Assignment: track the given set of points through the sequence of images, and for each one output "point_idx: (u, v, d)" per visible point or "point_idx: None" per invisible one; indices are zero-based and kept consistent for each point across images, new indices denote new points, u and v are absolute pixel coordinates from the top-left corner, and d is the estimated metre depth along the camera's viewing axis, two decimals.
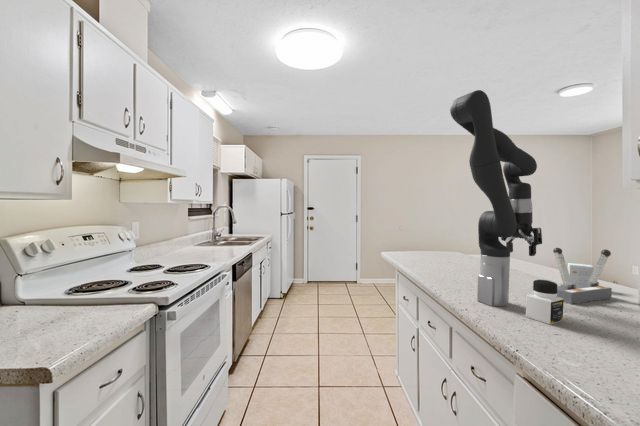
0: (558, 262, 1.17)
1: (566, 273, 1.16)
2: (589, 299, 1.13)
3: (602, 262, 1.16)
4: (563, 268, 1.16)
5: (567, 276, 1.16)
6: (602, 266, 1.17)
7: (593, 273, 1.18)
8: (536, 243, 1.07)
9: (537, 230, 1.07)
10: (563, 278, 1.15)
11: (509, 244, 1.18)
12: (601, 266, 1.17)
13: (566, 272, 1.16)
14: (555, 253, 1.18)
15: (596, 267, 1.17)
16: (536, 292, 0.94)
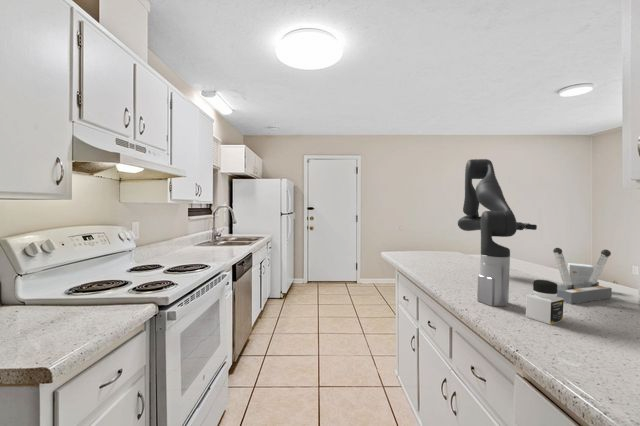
0: (558, 262, 1.17)
1: (566, 273, 1.16)
2: (589, 299, 1.13)
3: (602, 262, 1.16)
4: (563, 268, 1.16)
5: (567, 276, 1.16)
6: (602, 266, 1.17)
7: (593, 273, 1.18)
8: None
9: None
10: (563, 278, 1.15)
11: None
12: (601, 266, 1.17)
13: (566, 272, 1.16)
14: (555, 253, 1.18)
15: (596, 267, 1.17)
16: (536, 292, 0.94)
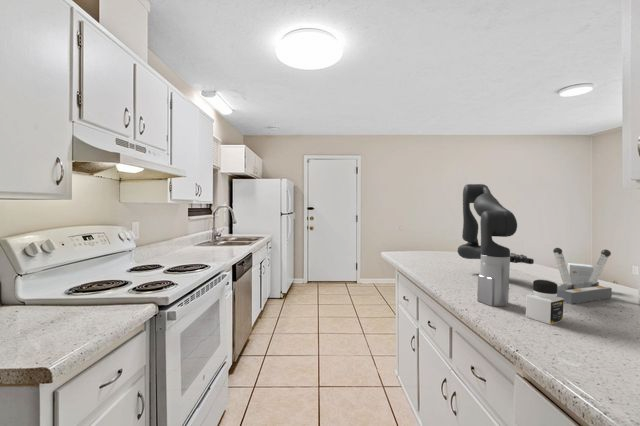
0: (558, 262, 1.17)
1: (566, 273, 1.16)
2: (589, 299, 1.13)
3: (602, 262, 1.16)
4: (563, 268, 1.16)
5: (567, 276, 1.16)
6: (602, 266, 1.17)
7: (593, 273, 1.18)
8: (525, 256, 1.33)
9: None
10: (563, 278, 1.15)
11: None
12: (601, 266, 1.17)
13: (566, 272, 1.16)
14: (555, 253, 1.18)
15: (596, 267, 1.17)
16: (536, 292, 0.94)
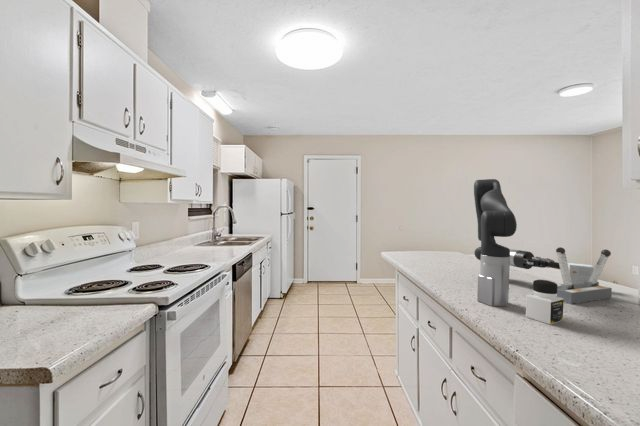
0: (560, 262, 1.16)
1: (567, 273, 1.15)
2: (589, 299, 1.13)
3: (602, 262, 1.16)
4: (565, 268, 1.16)
5: (568, 276, 1.15)
6: (602, 266, 1.17)
7: (593, 273, 1.18)
8: (553, 260, 1.23)
9: None
10: (564, 278, 1.15)
11: None
12: (601, 266, 1.17)
13: (567, 272, 1.16)
14: (558, 253, 1.17)
15: (596, 267, 1.17)
16: (536, 292, 0.94)
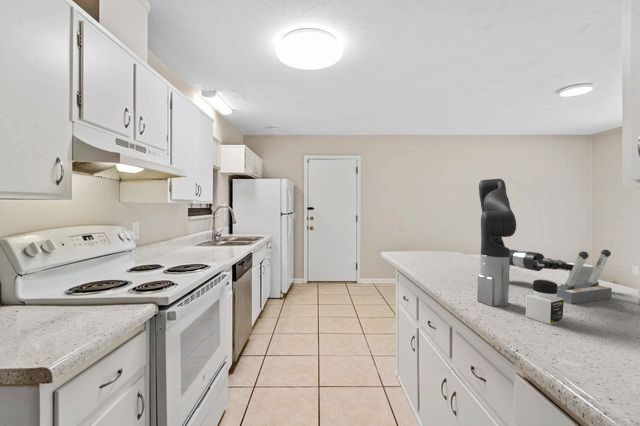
0: (575, 265, 1.11)
1: (575, 276, 1.13)
2: (589, 299, 1.13)
3: (602, 262, 1.16)
4: (576, 272, 1.12)
5: (574, 279, 1.13)
6: (602, 266, 1.17)
7: (593, 273, 1.18)
8: (564, 262, 1.19)
9: None
10: (569, 279, 1.13)
11: None
12: (601, 266, 1.17)
13: (576, 275, 1.13)
14: (579, 257, 1.10)
15: (596, 267, 1.17)
16: (536, 292, 0.94)
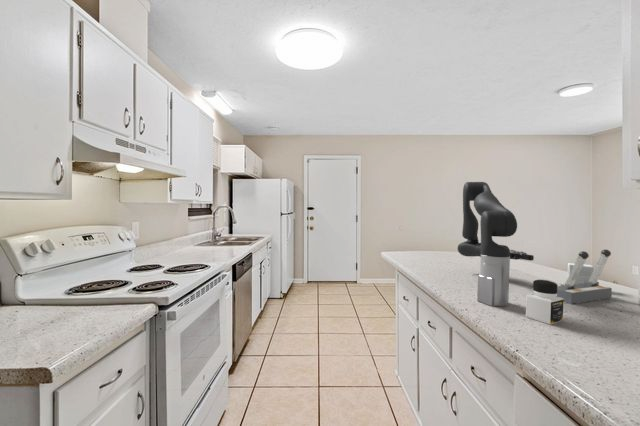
0: (576, 265, 1.11)
1: (575, 276, 1.13)
2: (589, 299, 1.13)
3: (602, 262, 1.16)
4: (576, 272, 1.12)
5: (574, 279, 1.13)
6: (602, 266, 1.17)
7: (593, 273, 1.18)
8: (525, 253, 1.33)
9: None
10: (569, 279, 1.13)
11: None
12: (601, 266, 1.17)
13: (576, 275, 1.13)
14: (579, 257, 1.10)
15: (596, 267, 1.17)
16: (536, 292, 0.94)
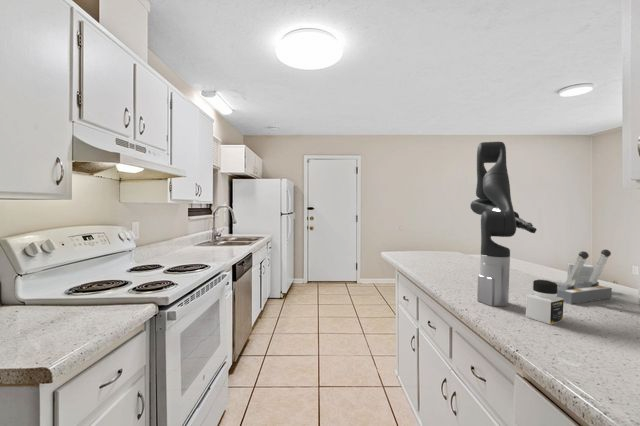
0: (576, 265, 1.11)
1: (575, 276, 1.13)
2: (589, 299, 1.13)
3: (602, 262, 1.16)
4: (576, 272, 1.12)
5: (574, 279, 1.13)
6: (602, 266, 1.17)
7: (593, 273, 1.18)
8: (531, 225, 1.29)
9: (531, 224, 1.33)
10: (569, 279, 1.13)
11: None
12: (601, 266, 1.17)
13: (576, 275, 1.13)
14: (579, 257, 1.10)
15: (596, 267, 1.17)
16: (536, 292, 0.94)
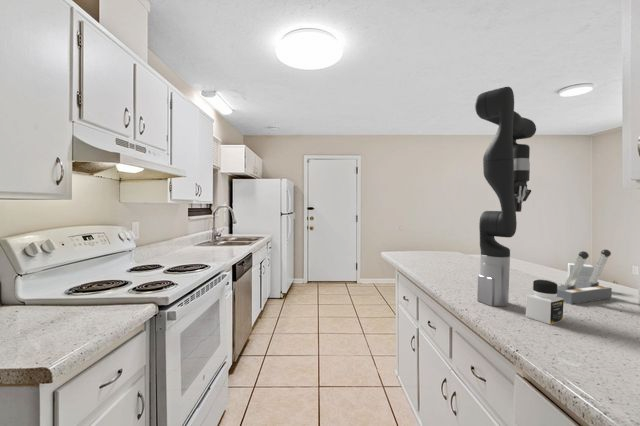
0: (576, 265, 1.11)
1: (575, 276, 1.13)
2: (589, 299, 1.13)
3: (602, 262, 1.16)
4: (576, 272, 1.12)
5: (574, 279, 1.13)
6: (602, 266, 1.17)
7: (593, 273, 1.18)
8: (525, 200, 1.27)
9: None
10: (569, 279, 1.13)
11: None
12: (601, 266, 1.17)
13: (576, 275, 1.13)
14: (579, 257, 1.10)
15: (596, 267, 1.17)
16: (536, 292, 0.94)
